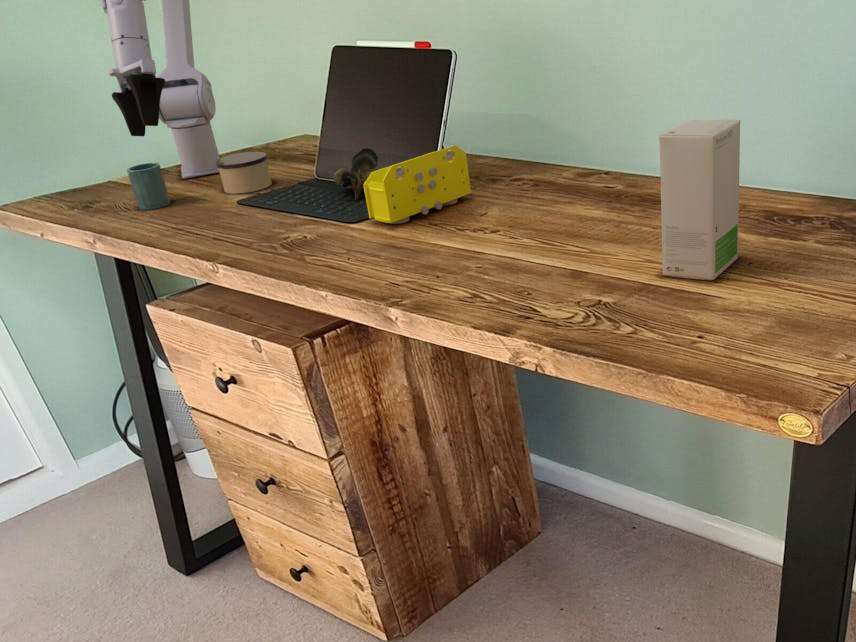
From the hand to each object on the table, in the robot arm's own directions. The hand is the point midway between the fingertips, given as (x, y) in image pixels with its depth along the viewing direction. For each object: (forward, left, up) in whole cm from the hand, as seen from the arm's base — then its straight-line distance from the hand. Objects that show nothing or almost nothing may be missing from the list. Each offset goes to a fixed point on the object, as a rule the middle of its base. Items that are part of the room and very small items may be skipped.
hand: (144, 130), depth 148 cm
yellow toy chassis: (+34, +37, -12) cm, 52 cm away
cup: (-1, -2, -12) cm, 12 cm away
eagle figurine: (+17, +31, -12) cm, 37 cm away
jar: (-2, +14, -12) cm, 19 cm away
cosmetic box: (+78, +59, -12) cm, 99 cm away
